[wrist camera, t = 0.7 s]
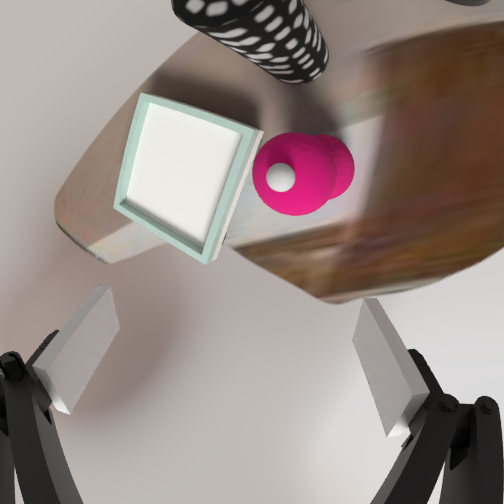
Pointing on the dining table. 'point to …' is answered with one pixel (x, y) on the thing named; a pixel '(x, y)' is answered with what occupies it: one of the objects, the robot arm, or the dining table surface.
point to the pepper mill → (301, 172)
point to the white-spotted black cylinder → (262, 34)
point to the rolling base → (184, 173)
